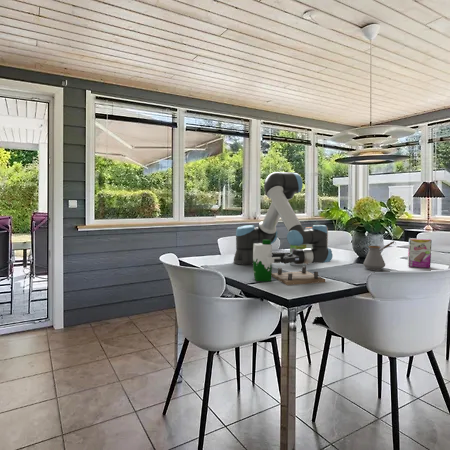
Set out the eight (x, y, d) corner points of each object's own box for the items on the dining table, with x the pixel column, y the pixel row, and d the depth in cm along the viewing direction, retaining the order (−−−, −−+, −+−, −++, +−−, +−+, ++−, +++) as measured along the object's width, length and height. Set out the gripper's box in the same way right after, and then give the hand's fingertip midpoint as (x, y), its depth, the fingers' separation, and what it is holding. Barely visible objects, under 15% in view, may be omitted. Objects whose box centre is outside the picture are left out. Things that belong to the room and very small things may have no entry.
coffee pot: (374, 271, 193) (374, 244, 192) (358, 268, 204) (359, 242, 203) (402, 268, 202) (403, 242, 201) (386, 265, 212) (387, 240, 211)
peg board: (271, 276, 185) (271, 267, 185) (306, 273, 190) (307, 265, 189) (286, 285, 166) (286, 275, 165) (325, 282, 170) (325, 273, 170)
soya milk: (273, 281, 173) (273, 240, 171) (254, 282, 172) (254, 241, 171) (269, 277, 182) (269, 238, 180) (252, 278, 181) (251, 239, 179)
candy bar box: (408, 267, 204) (409, 239, 203) (407, 265, 209) (408, 238, 208) (431, 268, 201) (431, 239, 200) (429, 266, 206) (429, 238, 204)
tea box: (306, 265, 213) (306, 241, 212) (289, 265, 215) (289, 241, 214) (306, 261, 228) (306, 238, 227) (290, 261, 230) (290, 238, 229)
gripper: (313, 268, 168) (271, 270, 164) (292, 259, 193) (254, 261, 188) (313, 252, 168) (271, 254, 163) (292, 245, 192) (254, 247, 187)
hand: (262, 258), depth 175 cm, fingers open, 13 cm apart
